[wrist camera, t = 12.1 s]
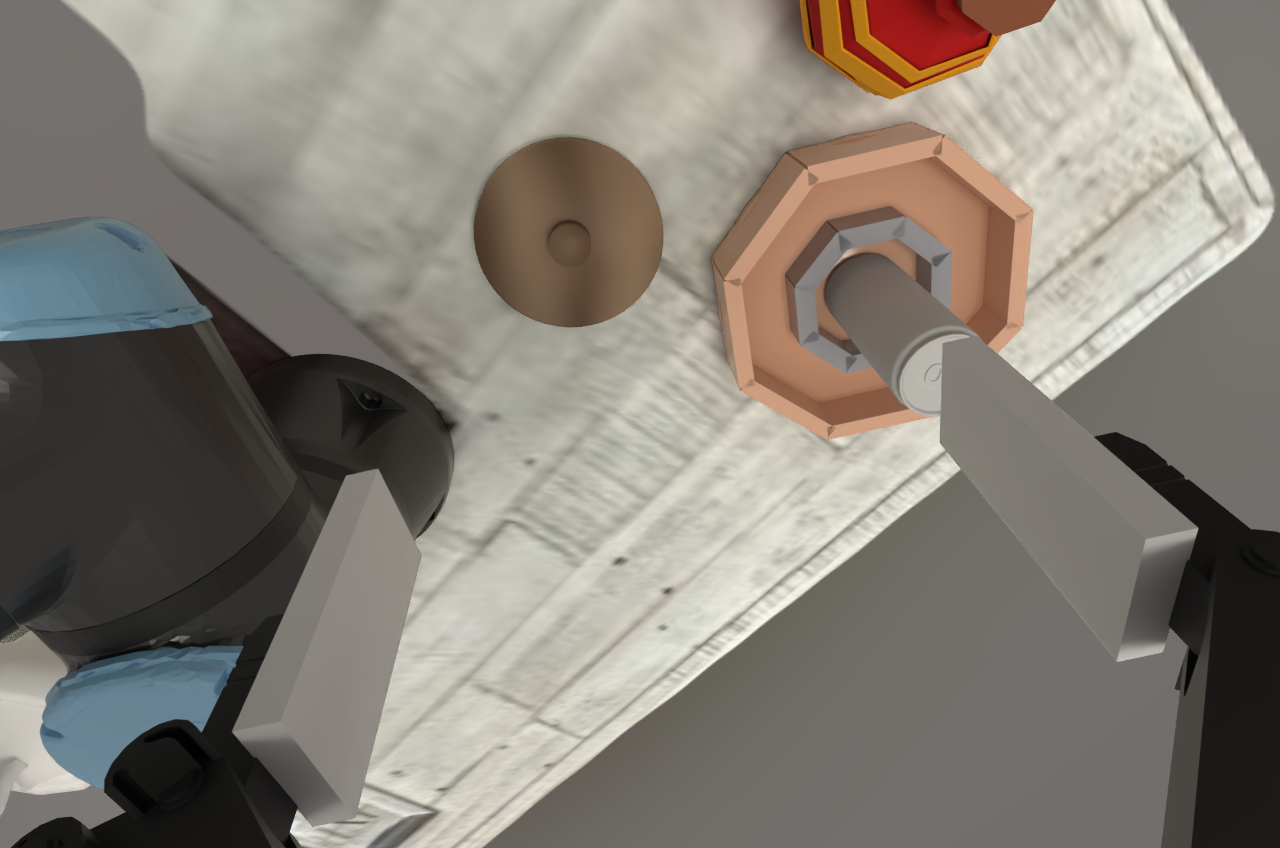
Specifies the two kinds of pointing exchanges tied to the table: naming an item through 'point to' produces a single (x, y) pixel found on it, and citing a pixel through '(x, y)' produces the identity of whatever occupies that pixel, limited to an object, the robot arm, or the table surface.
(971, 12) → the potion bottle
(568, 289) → the walnut lid
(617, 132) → the table surface
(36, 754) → the potted plant
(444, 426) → the robot arm
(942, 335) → the beverage can
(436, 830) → the table surface
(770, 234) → the dish
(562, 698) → the table surface
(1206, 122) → the table surface
